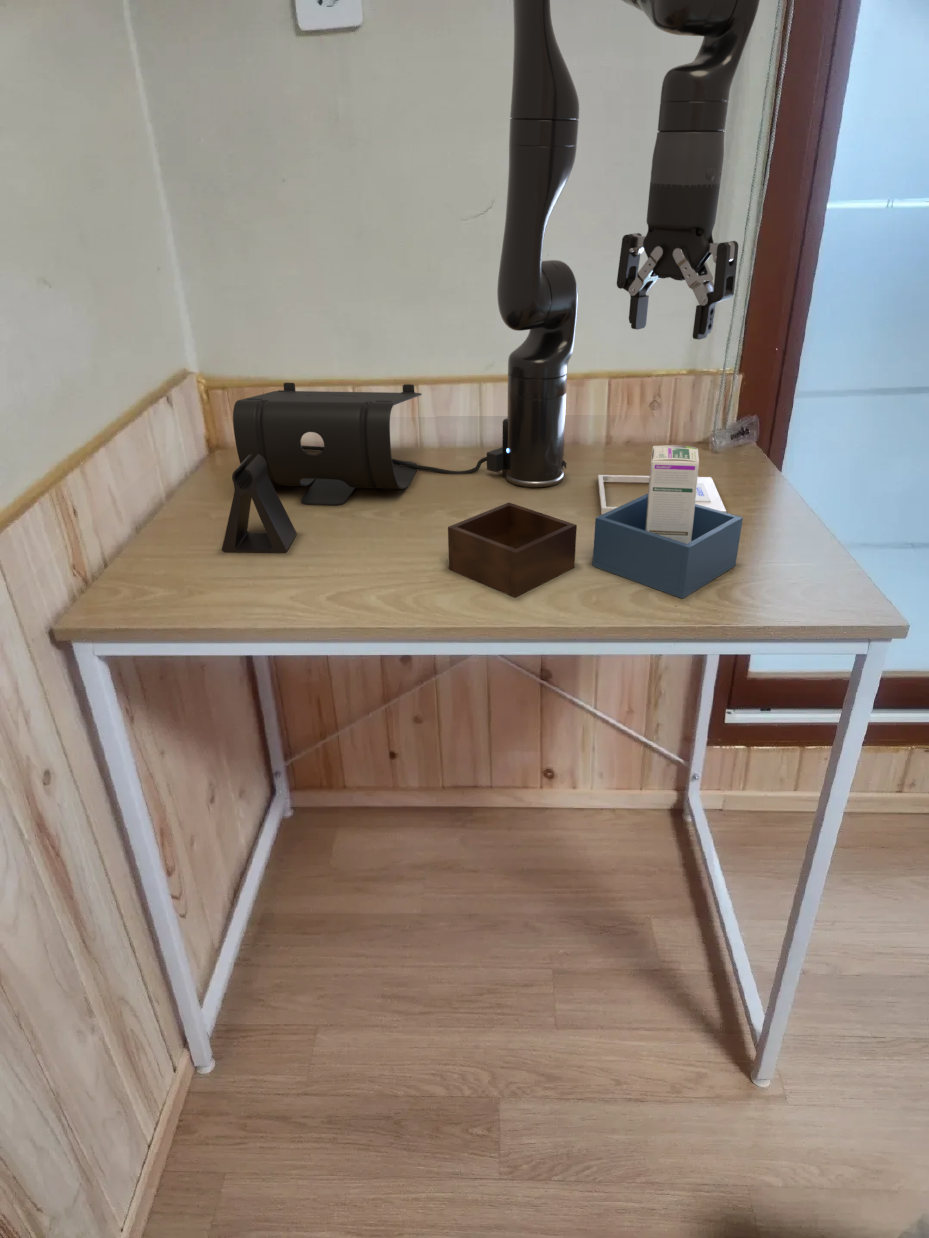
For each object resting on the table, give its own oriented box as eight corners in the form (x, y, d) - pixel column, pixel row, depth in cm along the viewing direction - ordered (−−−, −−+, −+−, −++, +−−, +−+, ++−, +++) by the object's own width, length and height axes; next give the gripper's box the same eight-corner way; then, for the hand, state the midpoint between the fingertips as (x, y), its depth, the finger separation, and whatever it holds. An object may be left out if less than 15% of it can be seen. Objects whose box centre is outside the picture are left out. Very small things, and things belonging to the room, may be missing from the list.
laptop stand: (238, 506, 131) (223, 406, 123) (284, 457, 151) (274, 369, 144) (400, 511, 128) (395, 409, 120) (425, 460, 148) (422, 371, 141)
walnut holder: (448, 569, 110) (447, 526, 107) (508, 542, 117) (508, 502, 114) (515, 597, 103) (516, 552, 100) (574, 567, 110) (576, 524, 107)
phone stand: (297, 535, 120) (287, 454, 114) (286, 553, 115) (275, 469, 109) (235, 534, 121) (222, 453, 115) (222, 552, 116) (207, 468, 110)
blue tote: (592, 566, 110) (595, 517, 107) (647, 537, 118) (651, 491, 115) (682, 599, 102) (689, 547, 98) (735, 566, 110) (743, 517, 106)
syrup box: (688, 571, 107) (702, 460, 100) (641, 568, 108) (651, 458, 101) (687, 552, 111) (700, 445, 104) (641, 549, 113) (651, 443, 105)
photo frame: (726, 510, 123) (601, 507, 125) (725, 517, 124) (601, 514, 125) (711, 476, 136) (598, 473, 137) (710, 482, 136) (597, 480, 138)
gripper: (762, 180, 90) (738, 337, 98) (650, 176, 99) (636, 321, 107) (726, 183, 85) (704, 347, 94) (611, 179, 94) (600, 329, 102)
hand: (668, 333), depth 100 cm, fingers open, 8 cm apart
